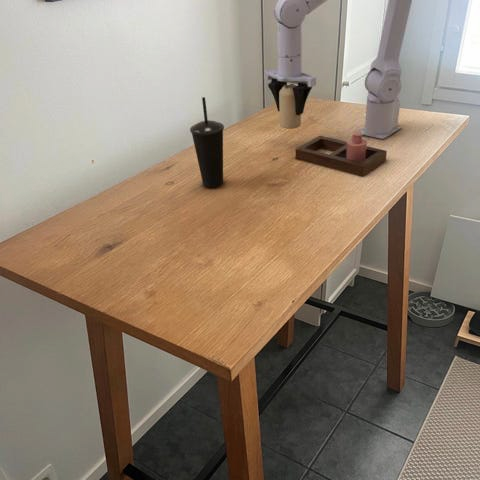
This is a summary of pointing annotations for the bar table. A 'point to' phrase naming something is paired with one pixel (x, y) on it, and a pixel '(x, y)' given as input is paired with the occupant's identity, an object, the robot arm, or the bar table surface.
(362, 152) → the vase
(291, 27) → the robot arm
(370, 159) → the holder
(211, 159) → the drinking cup
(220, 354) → the bar table surface
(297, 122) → the candle
